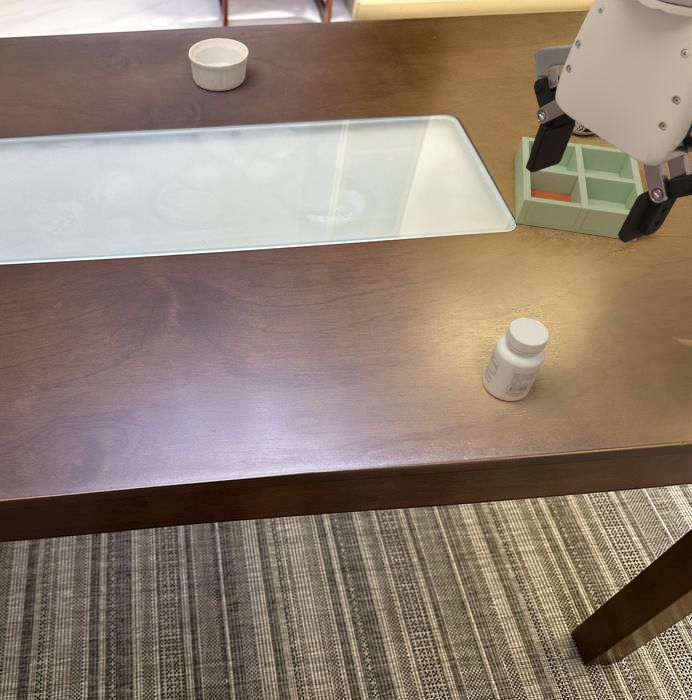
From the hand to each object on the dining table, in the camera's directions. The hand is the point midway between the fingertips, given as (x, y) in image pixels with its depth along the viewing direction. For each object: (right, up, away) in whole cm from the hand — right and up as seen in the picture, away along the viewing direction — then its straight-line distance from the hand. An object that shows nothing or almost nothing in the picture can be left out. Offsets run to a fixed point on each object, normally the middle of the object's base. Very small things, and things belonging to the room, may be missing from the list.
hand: (586, 199), depth 56 cm
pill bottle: (-1, -15, +14) cm, 21 cm away
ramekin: (-29, +29, +53) cm, 68 cm away
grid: (+15, +7, +34) cm, 37 cm away
